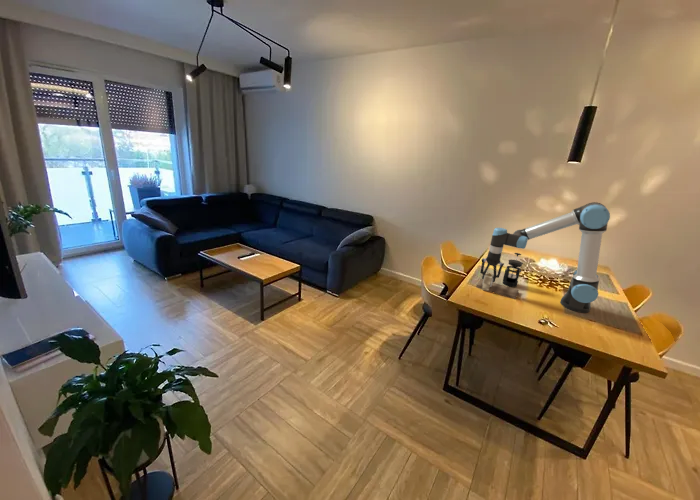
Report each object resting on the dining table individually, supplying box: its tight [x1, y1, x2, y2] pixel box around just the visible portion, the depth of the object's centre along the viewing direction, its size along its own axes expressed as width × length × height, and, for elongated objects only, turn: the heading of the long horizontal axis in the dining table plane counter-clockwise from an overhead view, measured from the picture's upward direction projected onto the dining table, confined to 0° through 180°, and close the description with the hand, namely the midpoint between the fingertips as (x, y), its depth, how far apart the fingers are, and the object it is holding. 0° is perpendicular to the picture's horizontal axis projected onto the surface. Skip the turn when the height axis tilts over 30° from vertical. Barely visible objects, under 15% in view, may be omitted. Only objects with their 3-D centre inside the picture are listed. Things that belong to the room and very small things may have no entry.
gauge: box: [481, 272, 494, 292], centre depth 200 cm, size 4×8×10 cm, turn 145°
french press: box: [501, 252, 524, 288], centre depth 208 cm, size 12×9×23 cm
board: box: [475, 278, 520, 300], centre depth 202 cm, size 24×12×2 cm, turn 55°
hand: (487, 284), depth 201 cm, fingers closed on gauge, 4 cm apart
